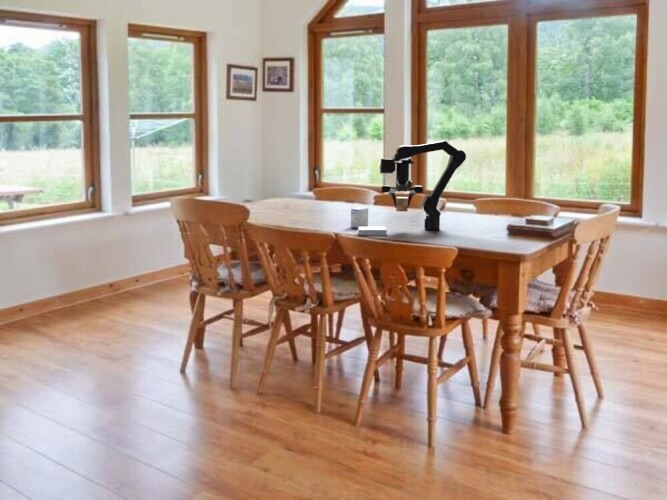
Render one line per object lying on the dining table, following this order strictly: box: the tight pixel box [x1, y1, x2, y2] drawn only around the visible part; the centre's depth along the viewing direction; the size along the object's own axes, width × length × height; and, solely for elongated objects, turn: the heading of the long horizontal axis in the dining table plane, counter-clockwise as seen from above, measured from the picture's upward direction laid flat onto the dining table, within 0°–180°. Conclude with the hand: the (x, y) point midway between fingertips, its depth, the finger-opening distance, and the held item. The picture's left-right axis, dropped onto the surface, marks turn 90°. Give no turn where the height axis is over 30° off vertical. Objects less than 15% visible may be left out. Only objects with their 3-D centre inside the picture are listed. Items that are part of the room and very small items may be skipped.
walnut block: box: [395, 196, 409, 212], centre depth 350 cm, size 5×5×6 cm
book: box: [357, 226, 388, 237], centre depth 340 cm, size 12×9×3 cm
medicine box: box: [350, 206, 369, 229], centre depth 361 cm, size 8×4×9 cm, turn 141°
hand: (401, 207), depth 350 cm, fingers closed on walnut block, 5 cm apart
